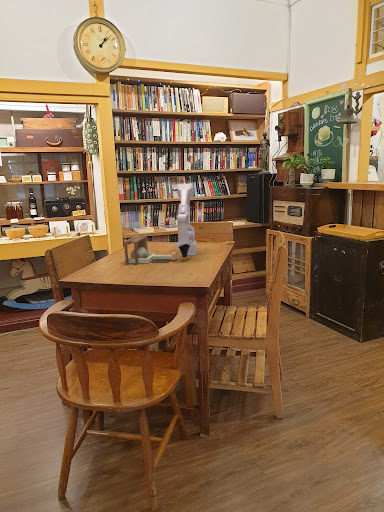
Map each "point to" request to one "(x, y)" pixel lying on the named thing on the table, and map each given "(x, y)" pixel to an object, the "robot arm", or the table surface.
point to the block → (153, 256)
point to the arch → (136, 246)
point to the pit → (161, 260)
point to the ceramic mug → (140, 253)
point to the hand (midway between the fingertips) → (184, 257)
